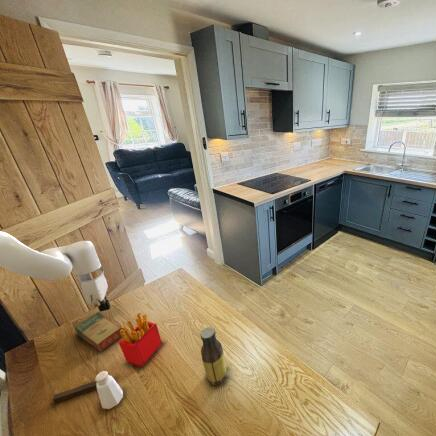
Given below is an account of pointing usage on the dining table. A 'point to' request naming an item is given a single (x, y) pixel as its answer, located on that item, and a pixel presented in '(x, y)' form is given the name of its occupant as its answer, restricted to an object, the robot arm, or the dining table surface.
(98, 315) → the carton
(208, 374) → the sauce bottle
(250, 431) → the dining table surface
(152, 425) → the dining table surface
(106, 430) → the dining table surface
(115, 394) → the pepper shaker
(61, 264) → the robot arm
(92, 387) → the rail
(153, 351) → the french fries container
